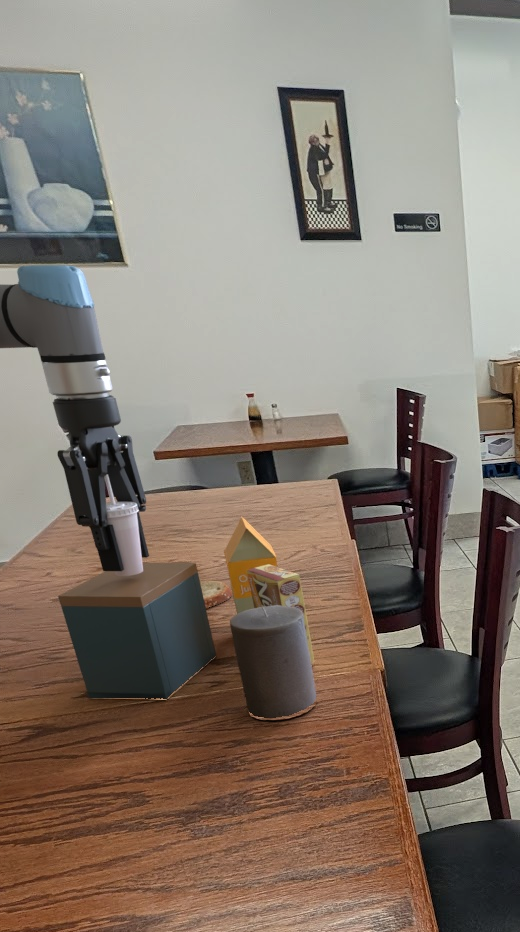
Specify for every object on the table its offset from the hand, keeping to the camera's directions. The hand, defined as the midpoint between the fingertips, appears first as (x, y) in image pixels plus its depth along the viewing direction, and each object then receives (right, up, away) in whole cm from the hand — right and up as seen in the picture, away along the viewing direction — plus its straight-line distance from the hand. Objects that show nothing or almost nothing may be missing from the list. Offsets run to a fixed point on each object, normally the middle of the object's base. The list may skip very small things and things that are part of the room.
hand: (126, 563), depth 119 cm
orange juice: (+12, -9, +23) cm, 28 cm away
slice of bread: (-11, -2, +38) cm, 40 cm away
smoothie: (0, -1, +1) cm, 2 cm away
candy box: (+20, -14, +12) cm, 27 cm away
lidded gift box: (0, -16, +8) cm, 18 cm away
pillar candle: (+24, -21, -2) cm, 32 cm away
